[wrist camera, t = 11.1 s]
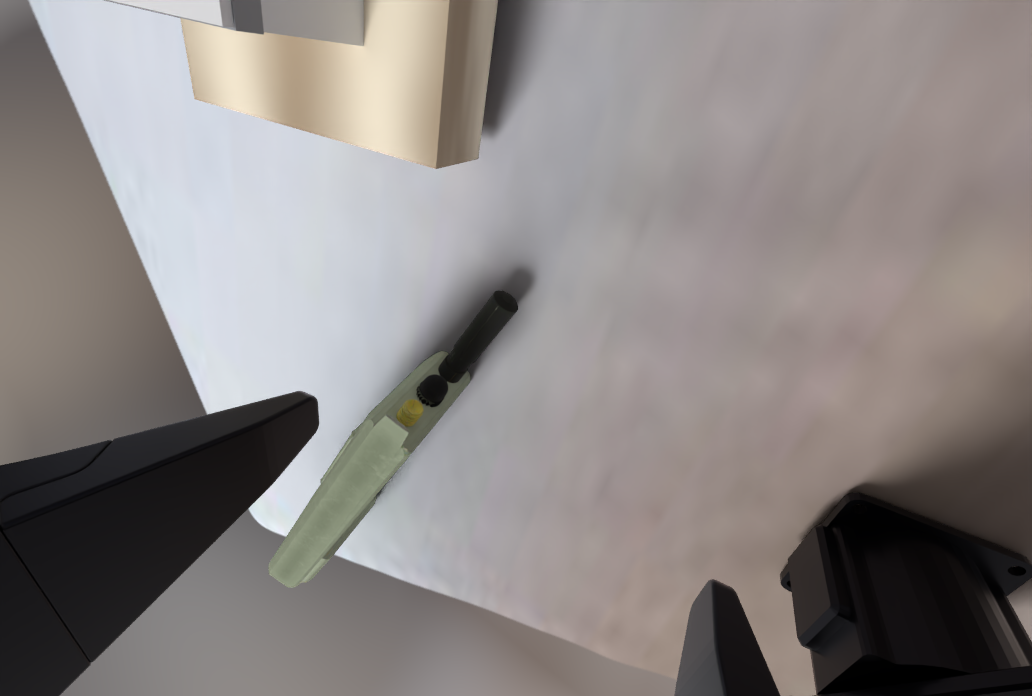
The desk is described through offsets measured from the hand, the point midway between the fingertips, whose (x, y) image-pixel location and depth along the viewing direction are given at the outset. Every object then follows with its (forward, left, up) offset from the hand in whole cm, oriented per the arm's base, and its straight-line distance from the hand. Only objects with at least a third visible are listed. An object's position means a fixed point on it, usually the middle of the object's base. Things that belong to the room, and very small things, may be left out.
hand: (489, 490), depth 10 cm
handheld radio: (+9, +13, -12) cm, 20 cm away
